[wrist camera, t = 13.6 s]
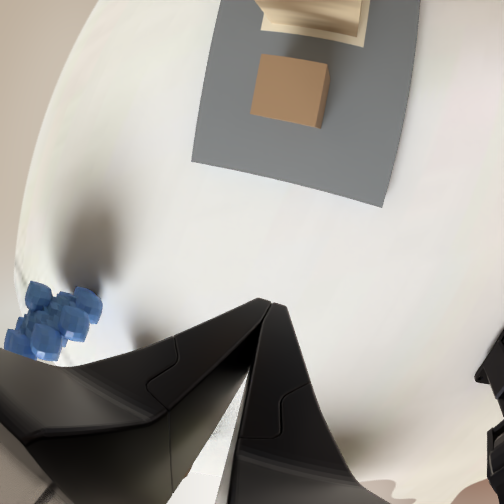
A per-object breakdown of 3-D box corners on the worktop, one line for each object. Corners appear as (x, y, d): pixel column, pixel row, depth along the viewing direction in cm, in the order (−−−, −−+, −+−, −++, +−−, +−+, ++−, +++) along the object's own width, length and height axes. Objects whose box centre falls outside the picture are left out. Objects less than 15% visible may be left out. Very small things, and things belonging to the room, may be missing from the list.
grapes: (110, 241, 25) (1, 306, 14) (141, 310, 27) (53, 394, 16) (47, 266, 29) (-33, 316, 18) (73, 319, 31) (2, 378, 20)
